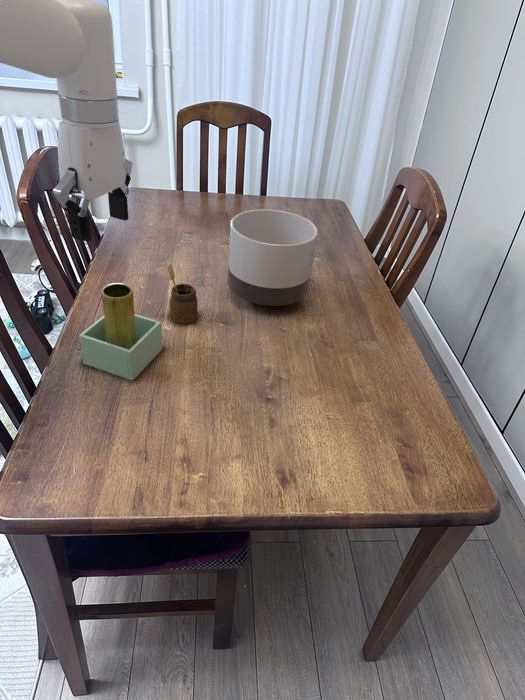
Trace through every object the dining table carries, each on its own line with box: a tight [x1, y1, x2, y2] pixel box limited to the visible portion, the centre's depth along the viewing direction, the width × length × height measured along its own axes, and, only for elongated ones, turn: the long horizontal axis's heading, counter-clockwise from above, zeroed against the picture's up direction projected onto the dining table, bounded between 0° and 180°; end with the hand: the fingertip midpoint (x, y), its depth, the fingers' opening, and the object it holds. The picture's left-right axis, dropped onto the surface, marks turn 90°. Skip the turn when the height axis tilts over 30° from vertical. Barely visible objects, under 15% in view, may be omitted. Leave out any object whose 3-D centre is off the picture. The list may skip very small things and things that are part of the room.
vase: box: [101, 282, 138, 350], centre depth 90 cm, size 6×6×14 cm
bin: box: [78, 313, 163, 381], centre depth 92 cm, size 11×11×7 cm
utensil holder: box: [167, 263, 198, 325], centre depth 103 cm, size 6×6×12 cm
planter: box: [226, 208, 319, 307], centre depth 112 cm, size 19×19×18 cm
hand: (101, 228), depth 77 cm, fingers open, 9 cm apart
